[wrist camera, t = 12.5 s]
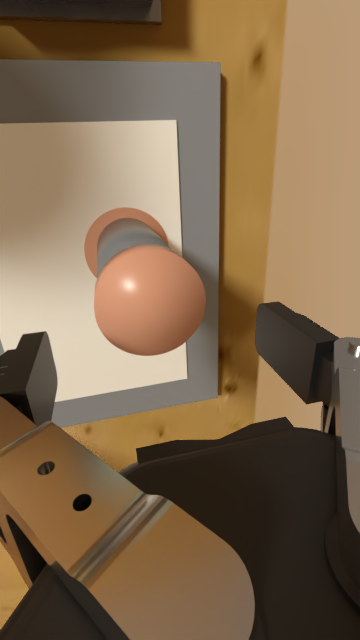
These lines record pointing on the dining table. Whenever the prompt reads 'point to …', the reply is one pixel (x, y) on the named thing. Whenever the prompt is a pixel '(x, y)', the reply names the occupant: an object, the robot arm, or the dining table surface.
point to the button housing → (84, 10)
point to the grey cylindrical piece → (144, 291)
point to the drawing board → (106, 217)
